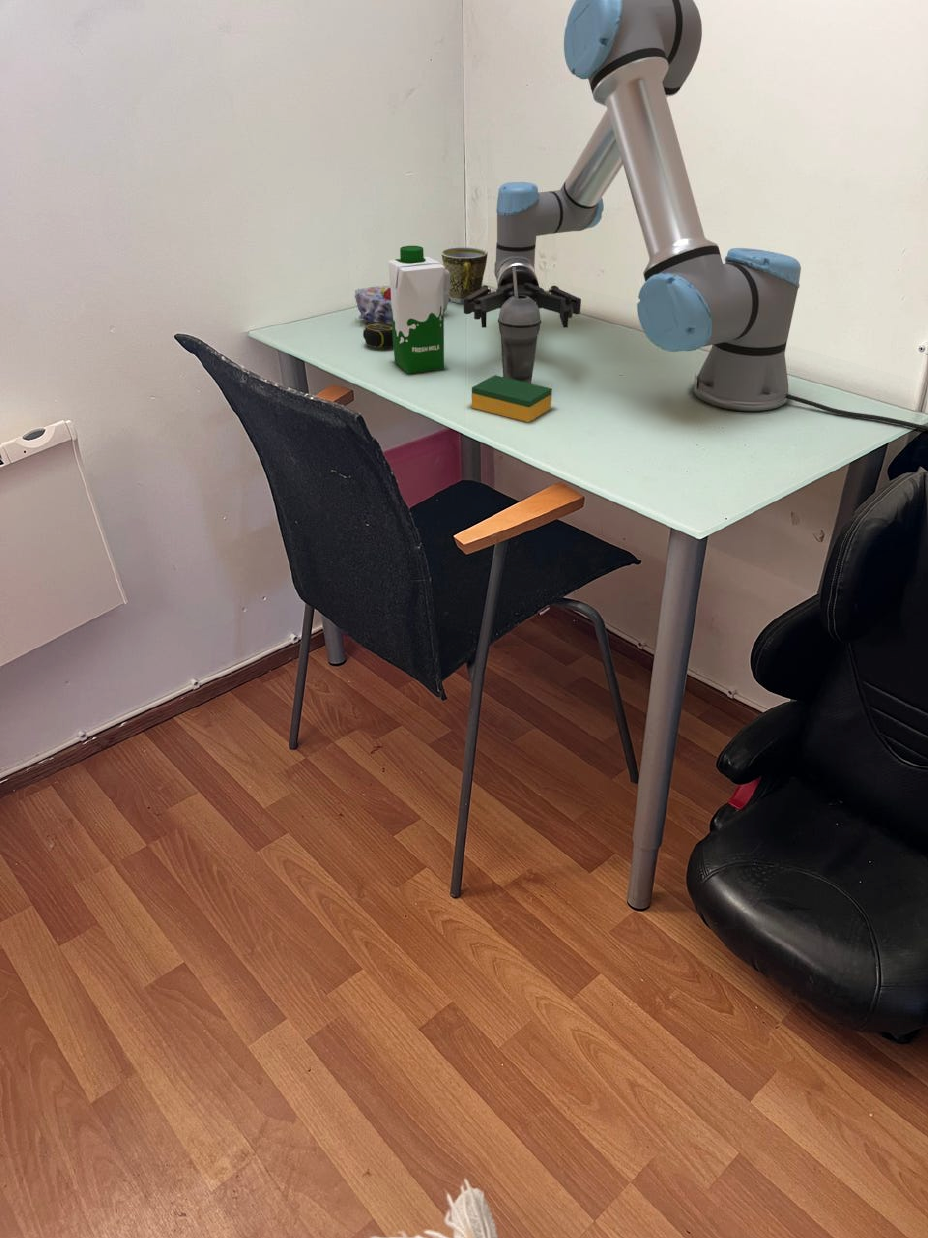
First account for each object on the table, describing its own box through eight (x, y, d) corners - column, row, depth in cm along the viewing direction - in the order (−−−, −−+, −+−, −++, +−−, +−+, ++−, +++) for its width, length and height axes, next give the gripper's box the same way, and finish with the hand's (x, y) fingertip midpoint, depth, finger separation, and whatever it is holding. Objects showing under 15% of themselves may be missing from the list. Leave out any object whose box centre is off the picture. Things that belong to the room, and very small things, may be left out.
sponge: (550, 409, 150) (552, 388, 148) (528, 422, 145) (529, 401, 143) (494, 394, 155) (495, 374, 153) (471, 407, 150) (471, 387, 148)
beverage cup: (535, 397, 154) (541, 274, 143) (493, 394, 155) (495, 272, 144) (540, 382, 160) (546, 262, 149) (498, 379, 161) (501, 261, 150)
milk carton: (432, 355, 172) (430, 242, 161) (451, 370, 165) (450, 254, 154) (388, 361, 169) (383, 247, 158) (405, 377, 162) (401, 258, 151)
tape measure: (406, 343, 178) (405, 323, 176) (388, 353, 173) (387, 333, 171) (376, 338, 180) (375, 319, 178) (357, 348, 175) (356, 328, 173)
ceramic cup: (440, 293, 207) (439, 247, 201) (483, 292, 208) (484, 246, 202) (445, 310, 196) (445, 261, 191) (491, 309, 197) (492, 260, 192)
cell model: (457, 261, 187) (389, 283, 175) (458, 314, 193) (392, 338, 181) (411, 250, 194) (342, 271, 182) (413, 302, 200) (347, 325, 188)
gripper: (583, 306, 172) (598, 341, 154) (450, 305, 171) (450, 341, 154) (586, 264, 167) (602, 296, 150) (450, 264, 167) (449, 296, 150)
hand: (525, 319), depth 152 cm, fingers open, 13 cm apart
